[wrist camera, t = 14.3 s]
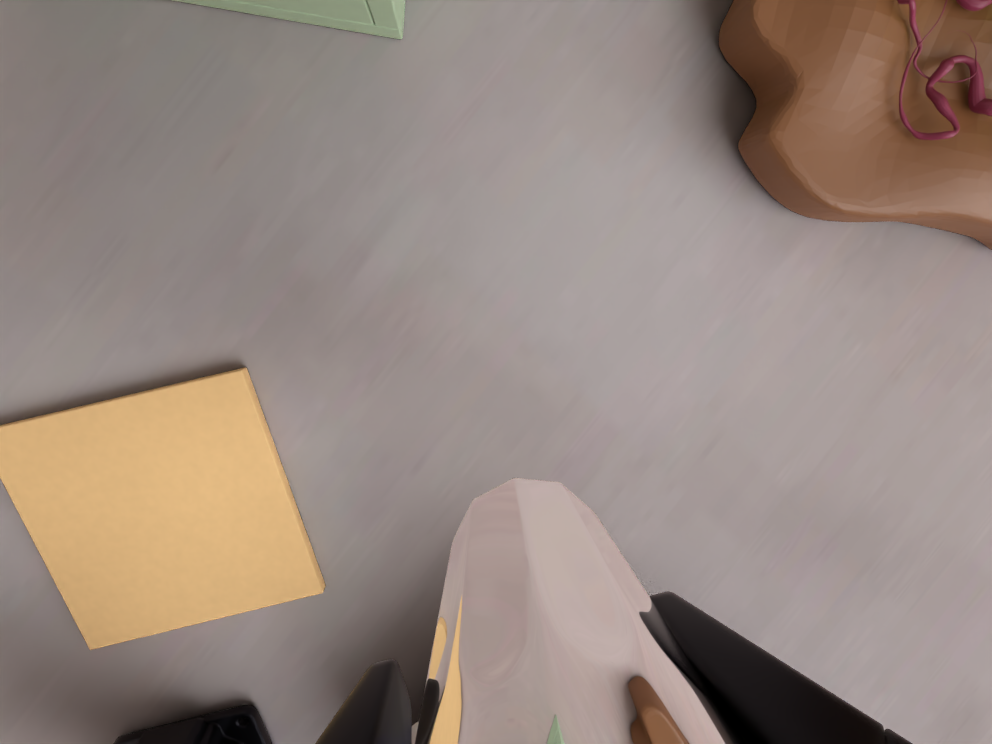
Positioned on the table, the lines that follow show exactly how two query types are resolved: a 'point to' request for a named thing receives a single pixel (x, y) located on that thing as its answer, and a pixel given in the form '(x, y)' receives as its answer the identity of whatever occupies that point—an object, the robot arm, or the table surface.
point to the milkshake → (555, 636)
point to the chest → (326, 13)
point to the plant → (869, 108)
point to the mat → (160, 508)
